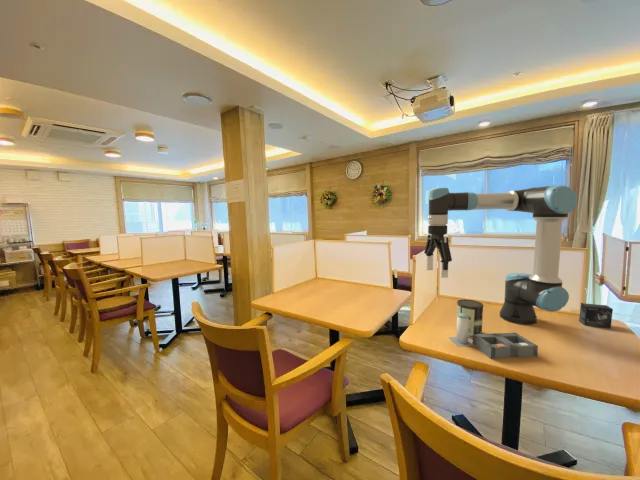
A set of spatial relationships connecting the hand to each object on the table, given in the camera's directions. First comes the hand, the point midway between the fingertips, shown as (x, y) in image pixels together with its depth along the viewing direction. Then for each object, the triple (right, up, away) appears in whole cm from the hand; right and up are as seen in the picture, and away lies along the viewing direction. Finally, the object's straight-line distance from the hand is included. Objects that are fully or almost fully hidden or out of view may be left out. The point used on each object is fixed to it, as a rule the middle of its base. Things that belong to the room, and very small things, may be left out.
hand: (436, 273), depth 117 cm
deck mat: (+9, -28, -4) cm, 30 cm away
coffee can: (+16, -28, +4) cm, 32 cm away
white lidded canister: (+9, -28, -4) cm, 30 cm away
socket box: (+21, -29, -11) cm, 38 cm away
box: (+79, -26, +10) cm, 84 cm away
